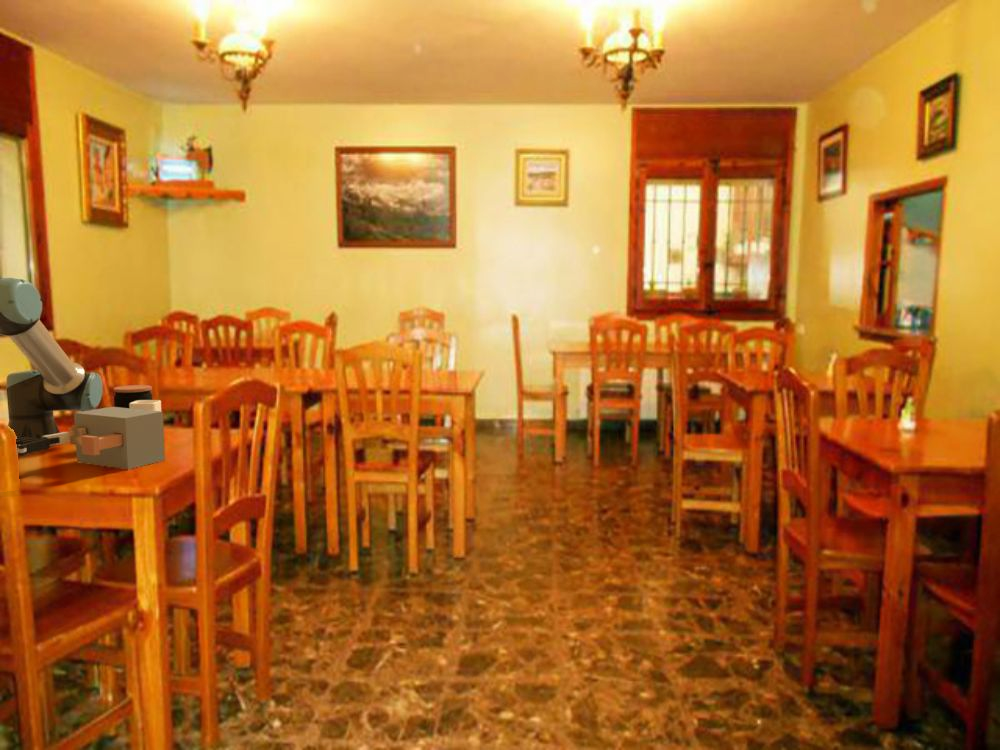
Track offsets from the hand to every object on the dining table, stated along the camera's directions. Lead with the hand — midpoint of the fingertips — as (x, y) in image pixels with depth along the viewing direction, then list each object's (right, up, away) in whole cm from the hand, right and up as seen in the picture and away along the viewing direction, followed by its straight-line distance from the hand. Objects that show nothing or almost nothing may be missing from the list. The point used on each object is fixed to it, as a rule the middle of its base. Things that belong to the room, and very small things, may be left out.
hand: (67, 437), depth 197 cm
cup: (+11, -6, +22) cm, 25 cm away
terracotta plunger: (+13, -3, -4) cm, 14 cm away
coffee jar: (+3, -5, +31) cm, 31 cm away
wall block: (+11, -8, +8) cm, 15 cm away
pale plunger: (+3, -2, +8) cm, 9 cm away
